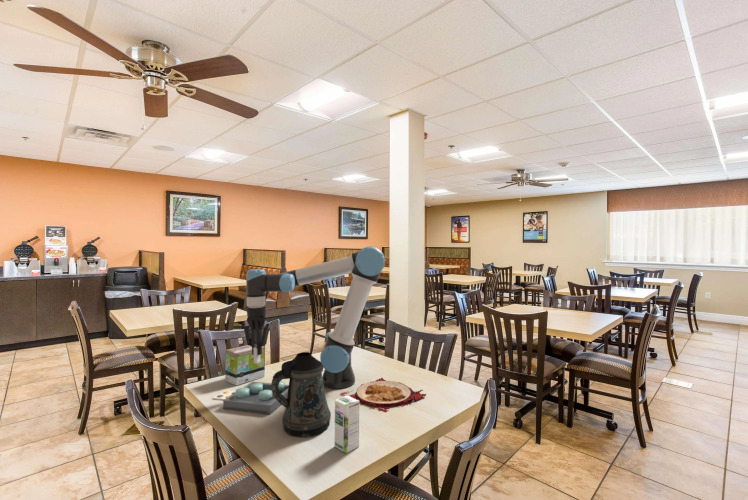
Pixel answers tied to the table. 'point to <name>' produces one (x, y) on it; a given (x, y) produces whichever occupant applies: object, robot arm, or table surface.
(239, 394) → the button
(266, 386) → the button board
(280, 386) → the button
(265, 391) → the button
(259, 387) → the button
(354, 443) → the syrup box
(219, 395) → the card
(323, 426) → the beer stein
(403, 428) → the table surface
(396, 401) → the plate with food
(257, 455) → the table surface
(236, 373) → the tea box
